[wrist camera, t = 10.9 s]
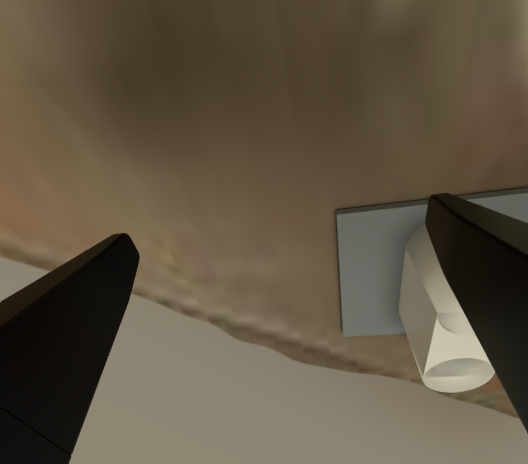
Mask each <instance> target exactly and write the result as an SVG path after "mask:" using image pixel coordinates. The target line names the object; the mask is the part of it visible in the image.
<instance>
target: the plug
mask: <svg viewBox="0 0 528 464" xmlns="http://www.w3.org/2000/svg"><path fill="white" fill-rule="evenodd" d="M398 312H399V316H400V319H401V321H402V324H403V327H404V330H405V332H406V335H407V338H408V341H409V343H410V346H411V349H412V352H413V355H414V357H415V360H416V363H417V366H418V368H419V371H420V374H421V377H422V380H423V382H424V384H425V385H426V386H427V387H428V388H430V389H433V390H436V391H440V392H462V391H467V390H471V389H474V388H477V387H479V386H481V385H483V384H485V383H486V382H488V381H489V380H490V379H491V378H492V376H493V375H494V373H495V371H494V369H493V367H492V365H491V363H490V361H489V359H488V357H487V356H486V354H485V352H484V350H483V348H482V346H481V344H480V342H479V340H478V339H477V337H476V335H475V333H474V331H473V329H472V327H471V325H470V324H469V322H468V320H467V318H466V316H465V314H464V312H463V310H462V308H461V307H460V305H459V303H458V301H457V299H456V297H455V295H454V293H453V291H452V290H451V288H450V286H449V284H448V282H447V280H446V278H445V276H444V274H443V272H442V269H441V267H440V264H439V261H438V259H437V256H436V253H435V251H434V248H433V245H432V243H431V240H430V237H429V235H428V232H427V229H426V225H425V224H424V225H422V226H420V227H419V228H418V229H416V230H415V231H414V232H413V233H412V234H411V236H410V237H409V238H408V240H407V243H406V247H405V255H404V264H403V273H402V282H401V291H400V299H399V308H398Z"/></svg>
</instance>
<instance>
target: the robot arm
mask: <svg viewBox="0 0 528 464" xmlns="http://www.w3.org/2000/svg"><path fill="white" fill-rule="evenodd" d="M425 225H426V229H427V232H428V235H429V237H430V240H431V243H432V245H433V248H434V251H435V253H436V256H437V259H438V261H439V264H440V267H441V269H442V272H443V274H444V276H445V278H446V280H447V282H448V284H449V286H450V288H451V290H452V291H453V293H454V295H455V297H456V299H457V301H458V303H459V305H460V307H461V308H462V310H463V312H464V314H465V316H466V318H467V320H468V322H469V324H470V325H471V327H472V329H473V331H474V333H475V335H476V337H477V339H478V340H479V342H480V344H481V346H482V348H483V350H484V352H485V354H486V356H487V357H488V359H489V361H490V363H491V365H492V367H493V369H494V371H495V373H496V374H497V376H498V378H499V380H500V382H501V384H502V386H503V388H504V390H505V391H506V393H507V395H508V397H509V399H510V401H511V403H512V405H513V406H514V408H515V410H516V412H517V414H518V416H519V418H520V420H521V421H522V423H523V425H524V427H525V429H526V431H527V433H528V223H526V222H524V221H521V220H518V219H516V218H513V217H510V216H507V215H505V214H502V213H499V212H497V211H494V210H491V209H489V208H486V207H483V206H481V205H478V204H475V203H473V202H470V201H467V200H465V199H462V198H459V197H457V196H454V195H451V194H449V193H441V194H434V195H431V196H430V197H429V200H428V205H427V212H426V219H425ZM139 258H140V257H139V252H138V250H137V249H136V247H135V245H134V243H133V241H132V240H131V238H130V236H129V235H128V234H126V233H120V234H114V235H112V236H110V237H108V238H107V239H105V240H103V241H101V242H100V243H98V244H96V245H95V246H93V247H91V248H90V249H88V250H86V251H85V252H83V253H81V254H80V255H78V256H76V257H75V258H73V259H71V260H70V261H68V262H66V263H65V264H63V265H61V266H60V267H58V268H56V269H55V270H53V271H51V272H50V273H48V274H46V275H45V276H43V277H41V278H40V279H38V280H36V281H35V282H33V283H31V284H30V285H28V286H26V287H24V288H23V289H21V290H19V291H18V292H16V293H15V294H13V295H11V296H9V297H8V298H6V299H4V300H3V301H1V302H0V464H69V461H70V459H71V454H72V453H73V450H74V447H75V445H76V442H77V439H78V437H79V434H80V431H81V428H82V426H83V423H84V421H85V418H86V415H87V413H88V410H89V407H90V404H91V402H92V399H93V396H94V394H95V391H96V388H97V386H98V383H99V380H100V377H101V375H102V372H103V370H104V367H105V364H106V361H107V359H108V356H109V353H110V351H111V348H112V345H113V343H114V340H115V337H116V335H117V332H118V329H119V326H120V324H121V321H122V318H123V315H124V313H125V310H126V308H127V305H128V302H129V299H130V295H131V291H132V287H133V283H134V279H135V275H136V272H137V268H138V264H139Z"/></svg>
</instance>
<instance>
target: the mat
mask: <svg viewBox="0 0 528 464" xmlns="http://www.w3.org/2000/svg"><path fill="white" fill-rule="evenodd" d="M457 197H459V198H462V199H465V200H467V201H470V202H473V203H475V204H478V205H481V206H483V207H486V208H489V209H491V210H494V211H497V212H499V213H502V214H505V215H507V216H510V217H513V218H516V219H518V220H521V221H524V222H526V223H528V188H520V189H512V190H503V191H495V192H486V193H478V194H469V195H461V196H457ZM428 200H429V199H426V200H418V201H409V202H401V203H392V204H384V205H375V206H367V207H358V208H350V209H341V210H336V224H337V242H338V261H339V279H340V298H341V317H342V333H343V337H347V336H366V335H385V334H404V333H406V332H405V330H404V327H403V324H402V321H401V319H400V316H399V312H398V308H399V299H400V291H401V282H402V273H403V264H404V255H405V247H406V243H407V240H408V238H409V237H410V236H411V234H412V233H413V232H414V231H415V230H416V229H418V228H419V227H420V226H422V225H424V224H425V219H426V212H427V205H428Z"/></svg>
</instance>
